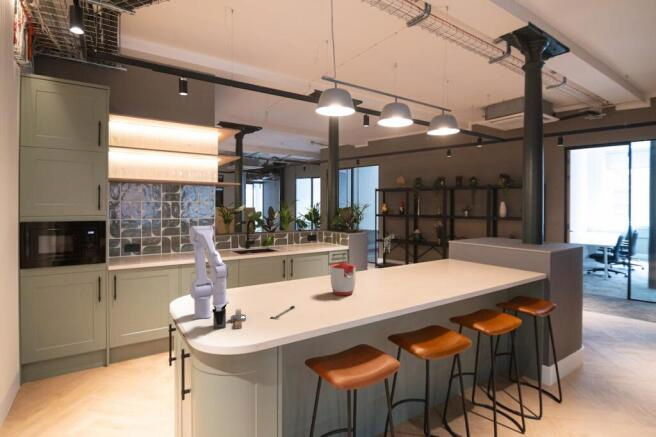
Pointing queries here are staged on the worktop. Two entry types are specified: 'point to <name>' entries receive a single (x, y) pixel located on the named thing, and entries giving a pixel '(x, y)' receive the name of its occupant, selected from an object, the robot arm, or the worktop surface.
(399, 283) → the worktop surface
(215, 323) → the dark grey block
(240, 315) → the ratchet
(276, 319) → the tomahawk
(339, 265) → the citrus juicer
